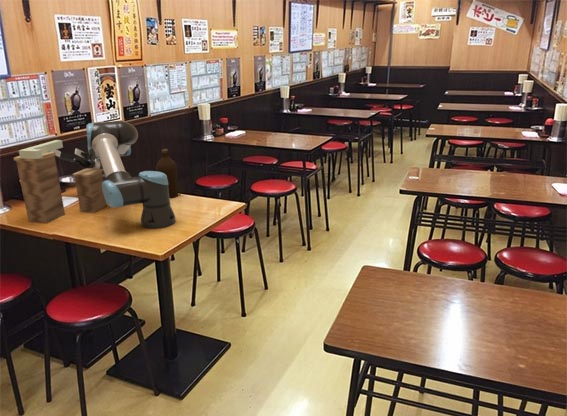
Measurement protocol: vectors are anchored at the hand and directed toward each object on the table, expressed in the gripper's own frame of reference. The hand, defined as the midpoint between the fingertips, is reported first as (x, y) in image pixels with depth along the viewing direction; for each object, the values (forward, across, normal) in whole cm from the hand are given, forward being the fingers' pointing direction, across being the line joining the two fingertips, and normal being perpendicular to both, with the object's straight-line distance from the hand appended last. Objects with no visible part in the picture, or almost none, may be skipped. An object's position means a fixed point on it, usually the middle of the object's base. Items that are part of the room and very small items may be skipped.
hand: (63, 150), depth 223 cm
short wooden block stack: (-11, -14, -26) cm, 32 cm away
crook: (+13, -3, -5) cm, 15 cm away
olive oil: (-34, -42, -13) cm, 55 cm away
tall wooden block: (+3, 0, -34) cm, 34 cm away
